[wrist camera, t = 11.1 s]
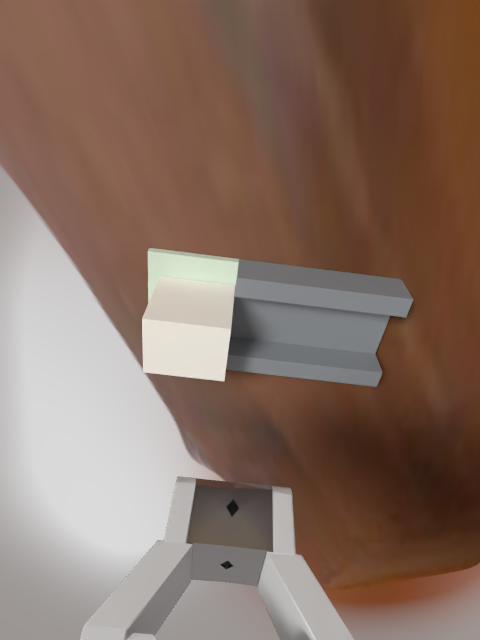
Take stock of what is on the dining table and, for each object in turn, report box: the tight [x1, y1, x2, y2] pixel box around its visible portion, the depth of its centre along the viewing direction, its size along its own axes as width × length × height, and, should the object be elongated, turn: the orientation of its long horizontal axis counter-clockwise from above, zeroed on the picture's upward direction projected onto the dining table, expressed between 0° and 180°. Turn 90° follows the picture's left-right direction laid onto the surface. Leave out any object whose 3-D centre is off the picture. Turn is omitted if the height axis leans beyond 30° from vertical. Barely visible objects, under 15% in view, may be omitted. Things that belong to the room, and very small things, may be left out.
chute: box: [148, 248, 414, 387], centre depth 33 cm, size 20×9×3 cm, turn 83°
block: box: [142, 276, 235, 381], centre depth 31 cm, size 6×5×6 cm
